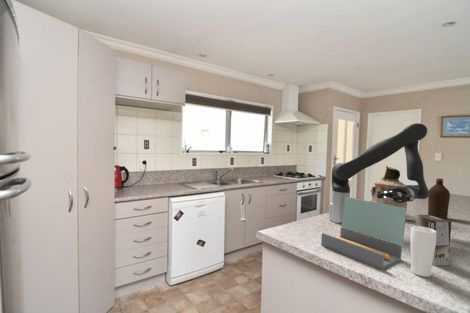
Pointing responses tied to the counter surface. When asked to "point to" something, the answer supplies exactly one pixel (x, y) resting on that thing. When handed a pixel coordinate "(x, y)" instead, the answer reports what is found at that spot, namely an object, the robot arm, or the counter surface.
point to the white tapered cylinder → (422, 250)
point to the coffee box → (438, 236)
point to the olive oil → (438, 200)
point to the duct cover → (375, 219)
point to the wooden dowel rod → (367, 248)
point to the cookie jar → (389, 189)
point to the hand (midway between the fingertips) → (386, 197)
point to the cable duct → (361, 252)
